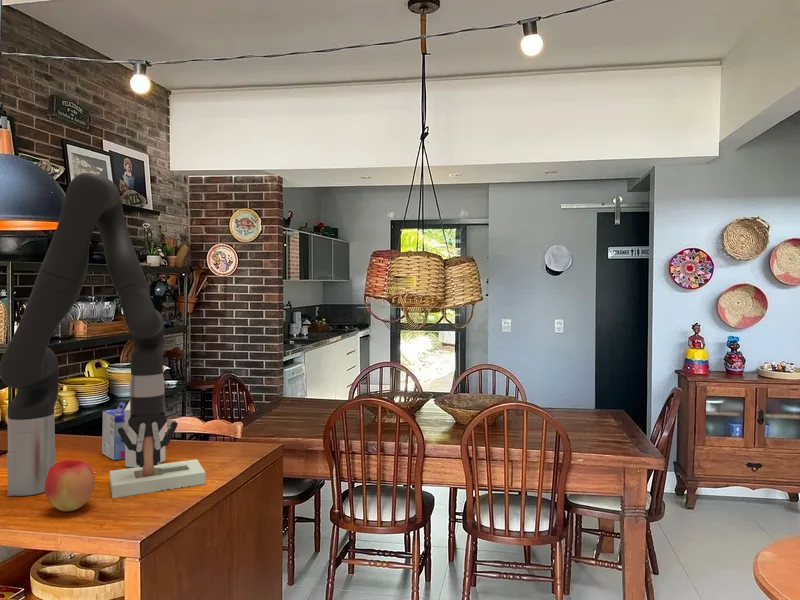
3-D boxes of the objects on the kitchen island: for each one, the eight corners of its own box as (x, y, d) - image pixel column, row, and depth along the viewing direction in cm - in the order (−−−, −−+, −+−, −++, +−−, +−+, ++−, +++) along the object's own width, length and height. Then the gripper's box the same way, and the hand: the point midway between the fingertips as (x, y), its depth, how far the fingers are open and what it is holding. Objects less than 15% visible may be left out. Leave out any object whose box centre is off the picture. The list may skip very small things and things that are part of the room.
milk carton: (149, 468, 154) (148, 395, 153) (125, 467, 155) (124, 394, 155) (165, 460, 161) (164, 390, 160) (142, 459, 162) (141, 389, 162)
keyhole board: (112, 498, 133) (112, 485, 133) (110, 482, 143) (109, 470, 143) (205, 484, 142) (205, 472, 142) (196, 470, 153) (196, 459, 153)
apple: (33, 516, 122) (32, 468, 122) (65, 500, 132) (65, 455, 131) (76, 519, 121) (75, 470, 121) (106, 502, 130) (105, 456, 130)
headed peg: (138, 486, 139) (138, 439, 138) (137, 481, 143) (136, 434, 142) (160, 483, 141) (159, 436, 140) (157, 478, 145) (157, 432, 145)
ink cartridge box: (135, 457, 164) (134, 404, 164) (114, 461, 160) (113, 407, 160) (122, 450, 171) (121, 399, 171) (101, 454, 168) (100, 402, 167)
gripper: (115, 398, 135) (116, 474, 135) (180, 392, 141) (181, 465, 142) (113, 392, 141) (114, 465, 142) (176, 387, 148) (177, 457, 148)
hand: (148, 465), depth 142 cm, fingers closed on headed peg, 2 cm apart
